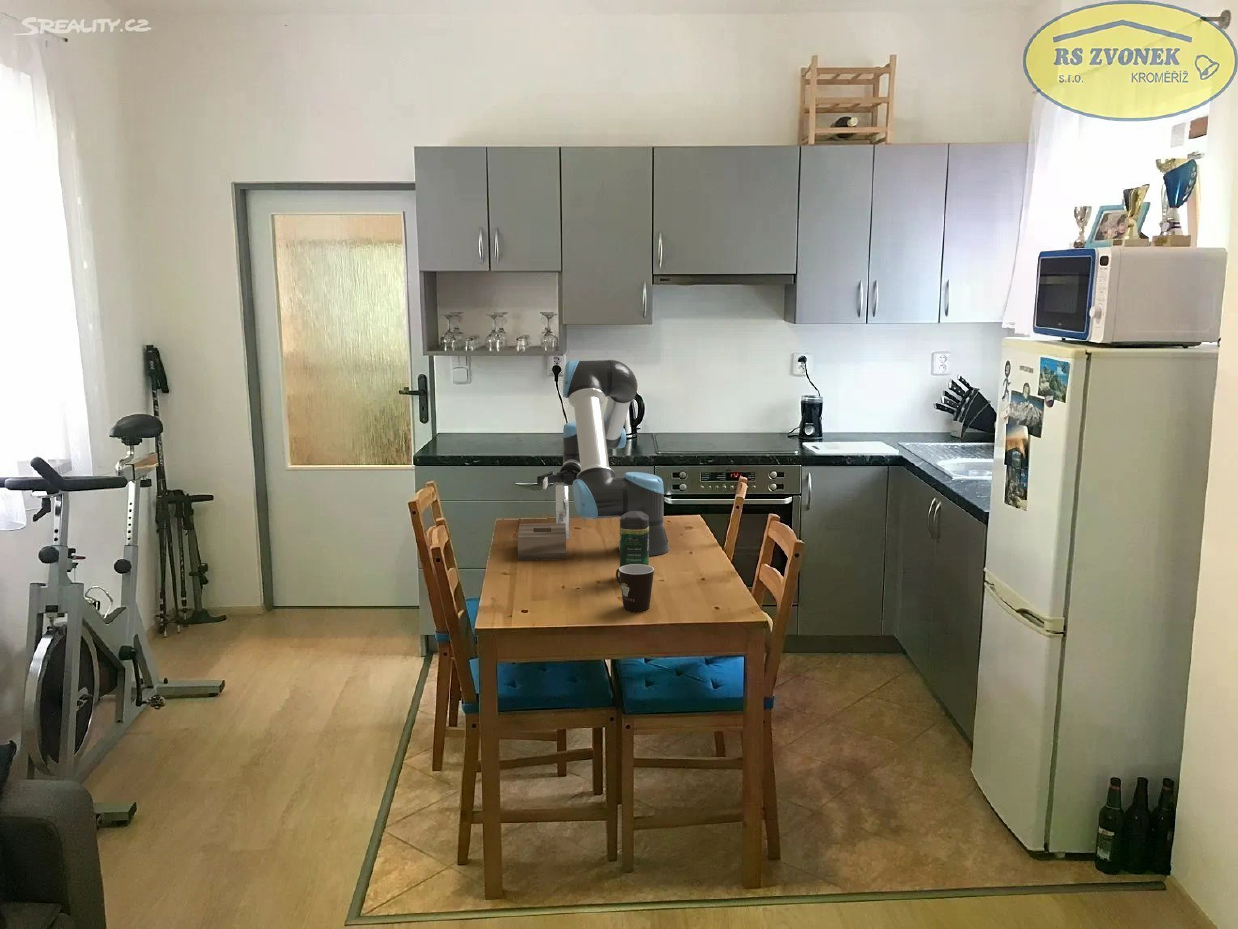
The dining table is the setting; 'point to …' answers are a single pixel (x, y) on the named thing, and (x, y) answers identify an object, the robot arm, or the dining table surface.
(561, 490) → the steel pin
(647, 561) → the coffee jar
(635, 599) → the coffee mug
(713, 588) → the dining table surface
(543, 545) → the socket block
